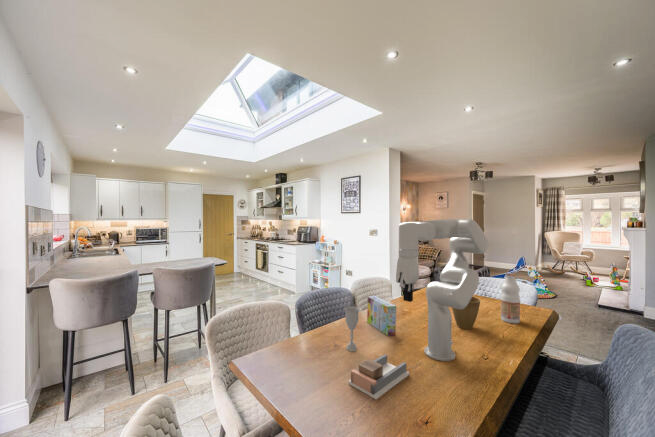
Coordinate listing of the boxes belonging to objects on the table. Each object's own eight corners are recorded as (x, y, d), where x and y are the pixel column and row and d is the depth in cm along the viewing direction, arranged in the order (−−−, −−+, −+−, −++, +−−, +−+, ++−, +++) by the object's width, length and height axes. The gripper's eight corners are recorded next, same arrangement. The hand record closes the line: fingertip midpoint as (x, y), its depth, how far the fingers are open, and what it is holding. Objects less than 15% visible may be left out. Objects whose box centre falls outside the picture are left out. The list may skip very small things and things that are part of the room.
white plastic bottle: (498, 320, 163) (499, 273, 163) (503, 317, 170) (503, 271, 170) (517, 325, 156) (517, 275, 157) (521, 321, 163) (521, 273, 163)
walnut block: (368, 375, 102) (369, 359, 102) (382, 382, 97) (382, 365, 97) (358, 381, 97) (358, 364, 97) (372, 389, 93) (372, 371, 93)
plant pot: (477, 334, 142) (477, 303, 142) (447, 327, 151) (447, 298, 151) (482, 326, 154) (482, 297, 154) (453, 320, 163) (453, 293, 163)
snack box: (396, 335, 141) (396, 305, 141) (387, 336, 139) (387, 306, 139) (374, 321, 161) (375, 295, 161) (366, 322, 159) (366, 296, 159)
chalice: (341, 346, 127) (341, 307, 128) (354, 344, 130) (355, 305, 130) (348, 353, 121) (348, 312, 121) (362, 350, 123) (362, 310, 123)
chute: (382, 362, 113) (382, 350, 113) (408, 374, 104) (409, 361, 104) (348, 383, 98) (348, 369, 98) (376, 399, 90) (376, 383, 90)
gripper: (409, 251, 116) (409, 295, 116) (389, 254, 105) (389, 302, 105) (426, 253, 110) (426, 299, 110) (407, 256, 100) (406, 307, 100)
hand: (408, 300), depth 108 cm, fingers closed
